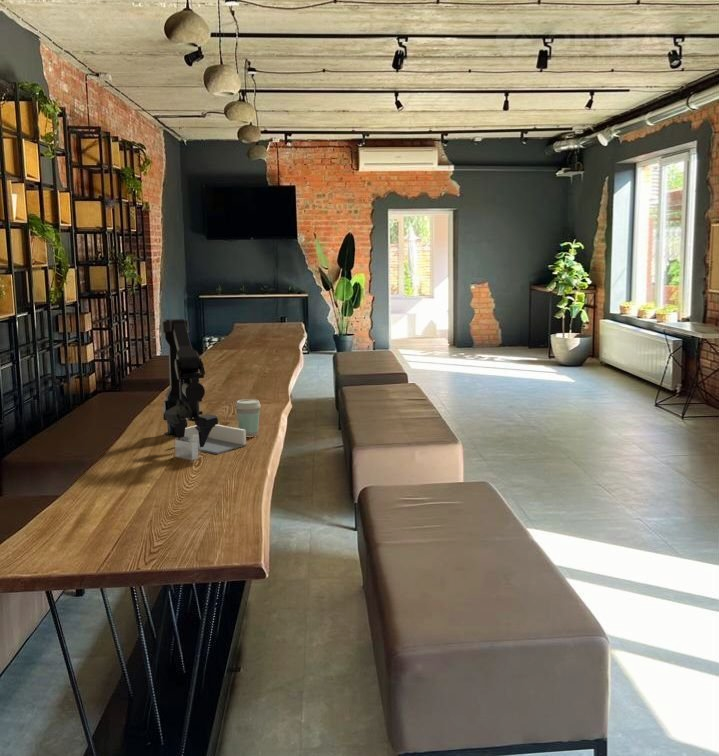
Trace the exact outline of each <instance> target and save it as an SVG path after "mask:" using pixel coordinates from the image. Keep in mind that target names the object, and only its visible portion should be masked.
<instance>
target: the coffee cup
mask: <svg viewBox="0 0 719 756" xmlns="http://www.w3.org/2000/svg"><path fill="white" fill-rule="evenodd" d="M261 406H262V405H261V403H260V400H258V399H256V398H255V399H254V398H247V399H246V398H244V399H238V400H237V401H236V404H235V407H234V408H235V410H236V414H237V415H236V417H237V423H238V428H239V429H244V430H246V436H256V435H258V434H259V426H260V425H259V423H260V412H261Z"/></svg>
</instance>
